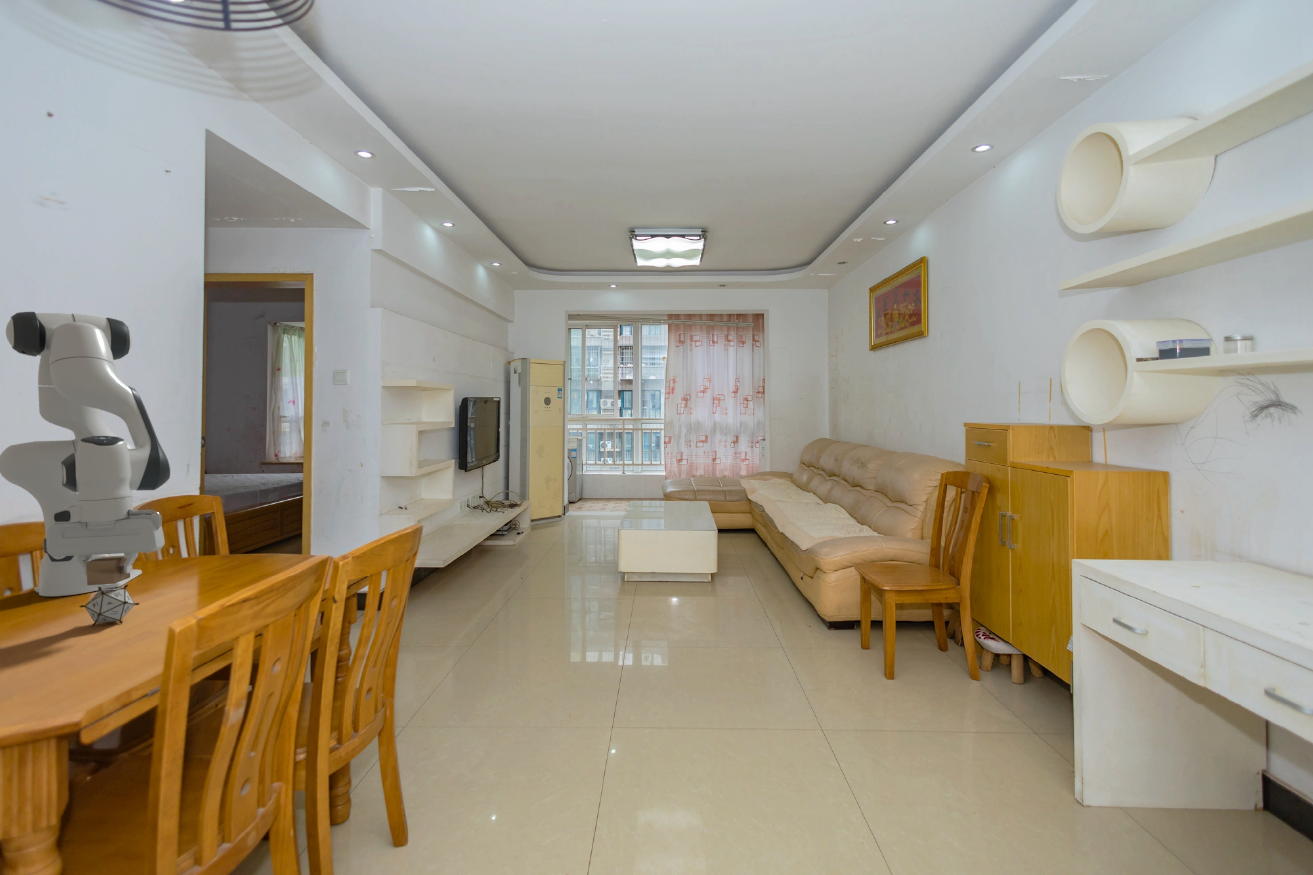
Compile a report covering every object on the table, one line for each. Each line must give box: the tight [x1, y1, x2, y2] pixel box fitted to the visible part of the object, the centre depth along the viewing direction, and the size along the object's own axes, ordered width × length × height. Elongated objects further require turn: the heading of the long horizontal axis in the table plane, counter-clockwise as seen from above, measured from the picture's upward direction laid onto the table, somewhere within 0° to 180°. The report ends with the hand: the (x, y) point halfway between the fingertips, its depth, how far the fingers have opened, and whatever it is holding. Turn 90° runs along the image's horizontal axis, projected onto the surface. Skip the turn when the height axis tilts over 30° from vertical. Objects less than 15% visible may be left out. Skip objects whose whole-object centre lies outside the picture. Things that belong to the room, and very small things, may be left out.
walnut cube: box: [86, 556, 130, 585], centre depth 129 cm, size 5×5×5 cm
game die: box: [78, 583, 140, 628], centre depth 129 cm, size 9×8×10 cm
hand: (108, 573), depth 129 cm, fingers closed on walnut cube, 5 cm apart
